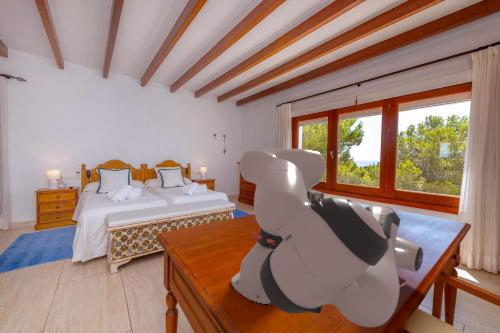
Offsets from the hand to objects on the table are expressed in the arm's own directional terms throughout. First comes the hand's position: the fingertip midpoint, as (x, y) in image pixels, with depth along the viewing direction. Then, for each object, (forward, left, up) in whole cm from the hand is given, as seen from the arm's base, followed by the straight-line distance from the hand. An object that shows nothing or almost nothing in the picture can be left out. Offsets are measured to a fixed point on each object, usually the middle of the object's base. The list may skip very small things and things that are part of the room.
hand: (335, 227), depth 86 cm
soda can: (+37, -10, -8) cm, 39 cm away
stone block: (+11, +17, -8) cm, 22 cm away
